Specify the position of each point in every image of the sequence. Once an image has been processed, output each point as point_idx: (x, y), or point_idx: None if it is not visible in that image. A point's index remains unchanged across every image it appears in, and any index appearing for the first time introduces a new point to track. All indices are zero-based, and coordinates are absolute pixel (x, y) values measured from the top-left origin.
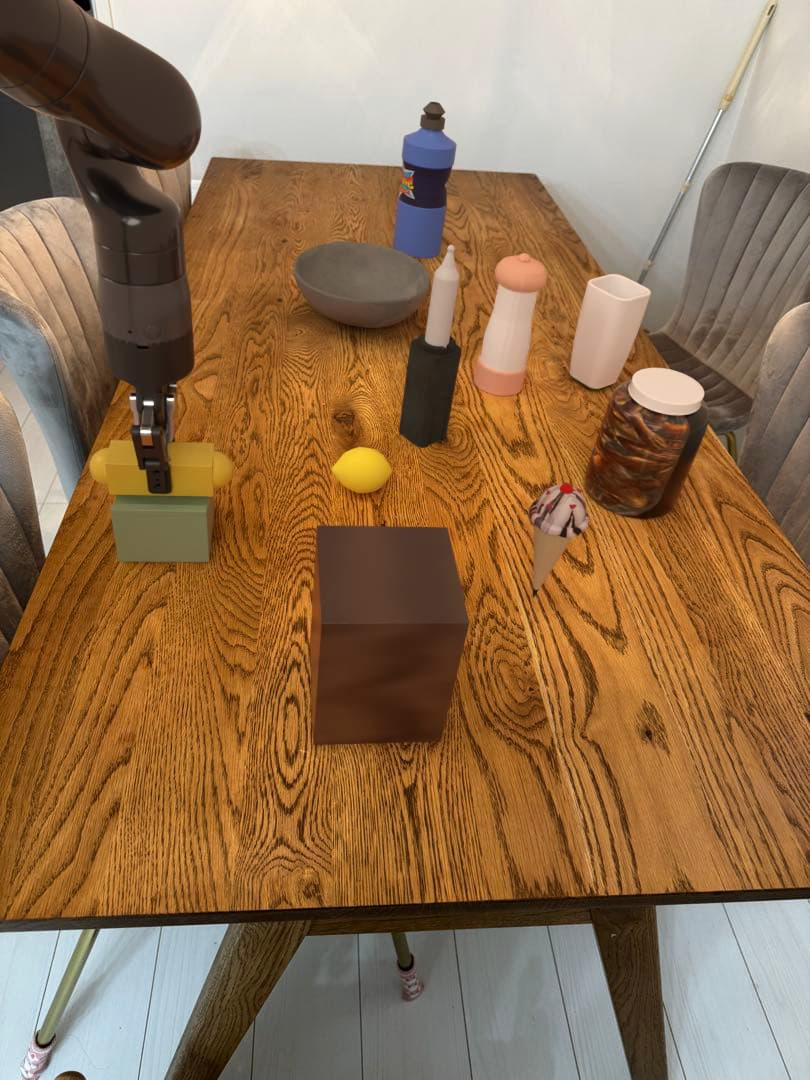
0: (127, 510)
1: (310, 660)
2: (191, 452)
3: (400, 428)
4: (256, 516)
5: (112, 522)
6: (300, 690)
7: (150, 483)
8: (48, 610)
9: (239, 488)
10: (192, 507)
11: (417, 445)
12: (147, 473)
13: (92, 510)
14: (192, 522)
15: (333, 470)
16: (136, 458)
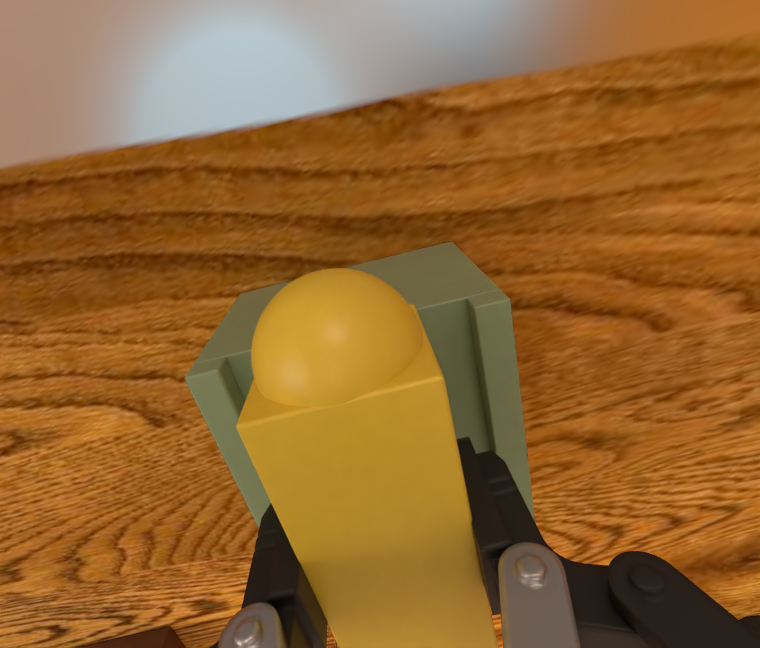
0: (207, 423)
1: (135, 640)
2: (426, 646)
3: (753, 629)
4: None
5: (200, 353)
6: (81, 634)
7: (256, 541)
8: (12, 205)
9: (554, 438)
10: None
11: None
12: (276, 548)
13: (413, 147)
14: None
15: None
16: (326, 520)
